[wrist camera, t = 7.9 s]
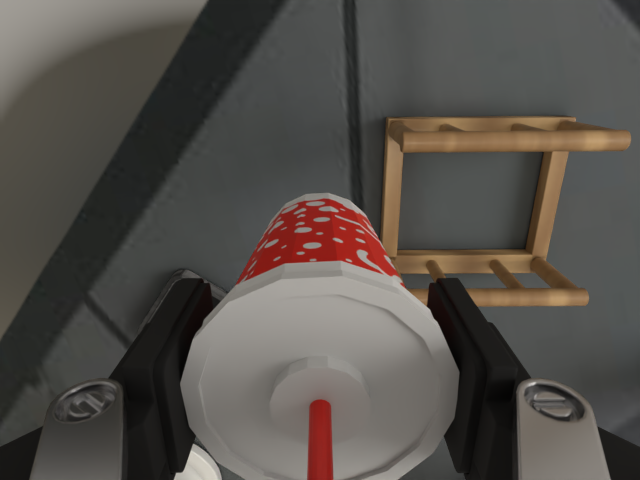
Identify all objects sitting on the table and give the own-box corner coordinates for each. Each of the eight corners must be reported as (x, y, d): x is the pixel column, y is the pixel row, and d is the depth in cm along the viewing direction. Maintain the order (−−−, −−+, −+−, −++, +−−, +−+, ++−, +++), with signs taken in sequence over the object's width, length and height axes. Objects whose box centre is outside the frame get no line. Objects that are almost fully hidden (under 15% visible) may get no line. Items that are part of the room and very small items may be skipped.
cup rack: (378, 267, 35) (391, 312, 28) (386, 116, 30) (403, 129, 24) (536, 266, 34) (586, 311, 28) (567, 115, 30) (635, 127, 24)
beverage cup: (405, 292, 18) (613, 824, 5) (271, 322, 19) (163, 869, 6) (377, 156, 16) (615, 495, 3) (227, 194, 17) (-101, 614, 4)
